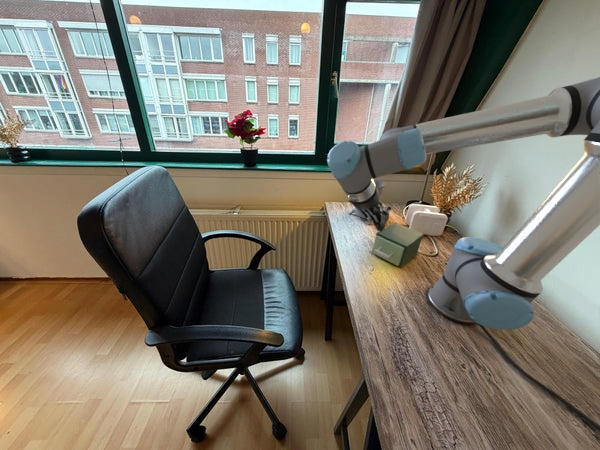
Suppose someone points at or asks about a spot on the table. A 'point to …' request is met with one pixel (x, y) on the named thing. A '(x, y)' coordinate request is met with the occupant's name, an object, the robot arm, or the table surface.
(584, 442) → the table surface
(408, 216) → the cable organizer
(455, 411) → the table surface
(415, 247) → the cabinet
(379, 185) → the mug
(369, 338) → the table surface
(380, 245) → the drawer
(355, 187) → the robot arm
